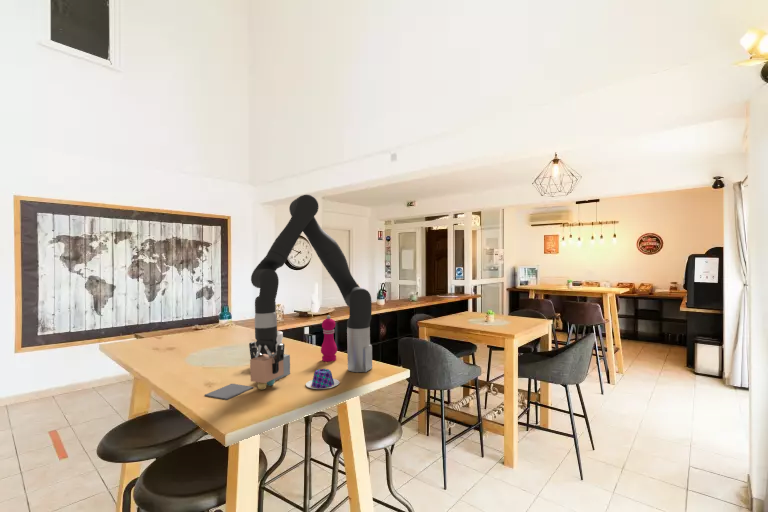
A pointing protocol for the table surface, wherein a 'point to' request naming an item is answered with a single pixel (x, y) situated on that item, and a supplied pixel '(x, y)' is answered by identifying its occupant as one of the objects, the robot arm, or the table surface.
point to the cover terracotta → (264, 369)
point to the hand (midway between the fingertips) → (267, 372)
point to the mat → (229, 391)
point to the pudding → (322, 380)
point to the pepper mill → (328, 340)
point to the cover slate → (285, 366)
